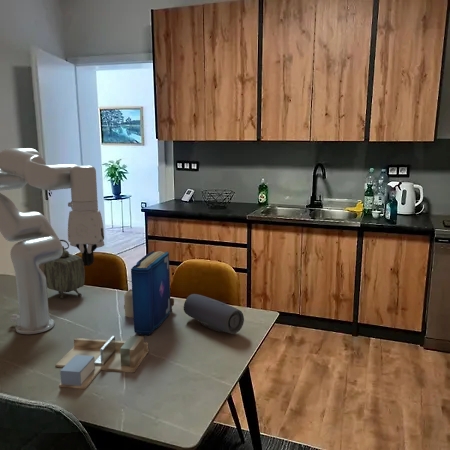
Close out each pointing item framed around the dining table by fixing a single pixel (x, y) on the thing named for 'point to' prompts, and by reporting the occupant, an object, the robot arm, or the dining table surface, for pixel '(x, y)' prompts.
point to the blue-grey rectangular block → (77, 370)
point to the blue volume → (150, 292)
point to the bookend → (106, 351)
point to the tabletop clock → (65, 273)
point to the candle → (128, 304)
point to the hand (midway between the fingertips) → (88, 264)
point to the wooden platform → (120, 360)
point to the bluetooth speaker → (214, 313)
